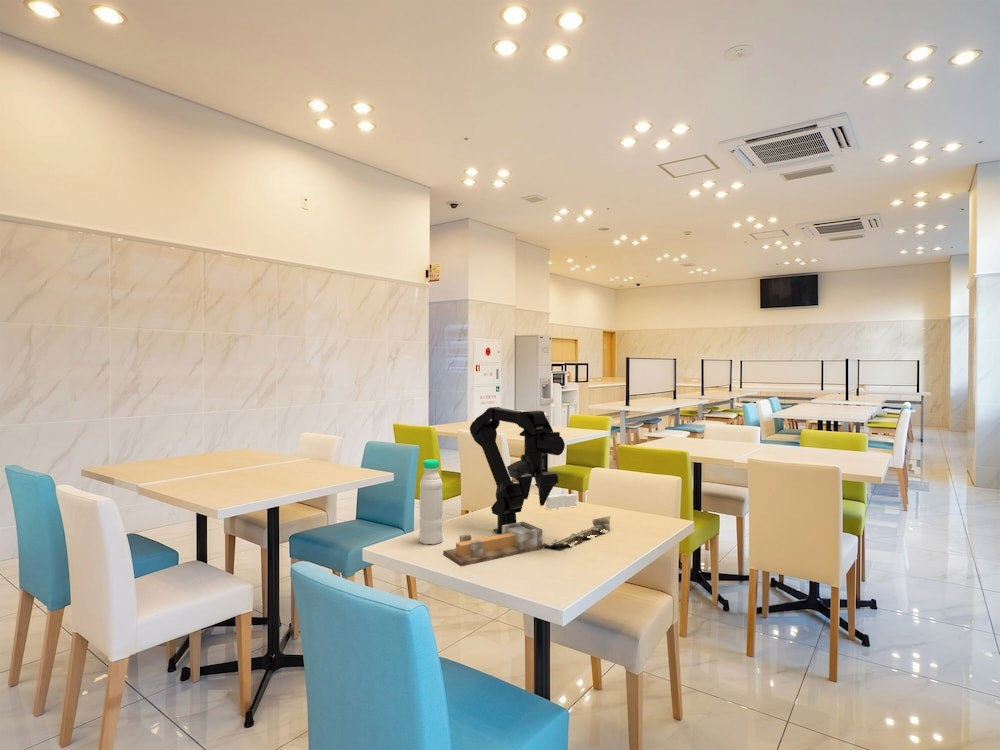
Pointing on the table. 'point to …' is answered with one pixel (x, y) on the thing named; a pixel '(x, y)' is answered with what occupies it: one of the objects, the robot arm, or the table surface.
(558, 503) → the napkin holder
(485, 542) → the tan bar grey block
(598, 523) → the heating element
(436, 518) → the water bottle
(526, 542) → the cable board
